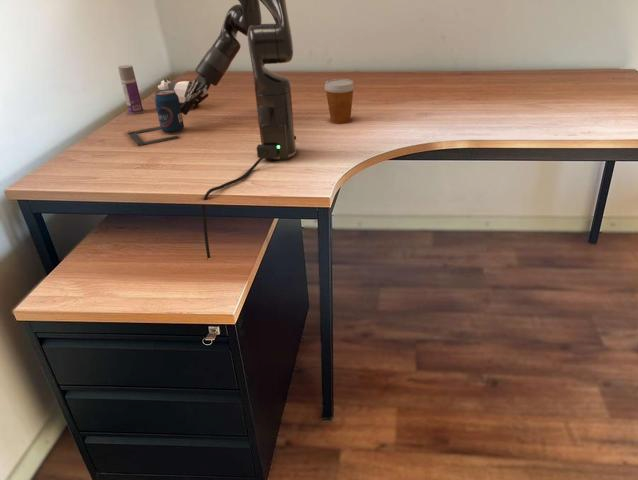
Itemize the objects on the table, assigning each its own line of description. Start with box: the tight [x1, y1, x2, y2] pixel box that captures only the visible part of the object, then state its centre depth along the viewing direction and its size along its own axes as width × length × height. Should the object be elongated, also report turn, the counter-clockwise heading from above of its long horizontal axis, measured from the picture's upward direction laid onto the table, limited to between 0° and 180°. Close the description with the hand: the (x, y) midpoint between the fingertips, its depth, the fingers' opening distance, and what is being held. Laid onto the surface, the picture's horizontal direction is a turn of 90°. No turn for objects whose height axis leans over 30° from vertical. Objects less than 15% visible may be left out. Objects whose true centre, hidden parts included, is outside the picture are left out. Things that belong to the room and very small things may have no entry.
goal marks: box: [127, 126, 180, 147], centre depth 166 cm, size 12×14×1 cm
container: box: [117, 64, 144, 115], centre depth 183 cm, size 5×5×15 cm
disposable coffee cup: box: [323, 78, 355, 124], centre depth 173 cm, size 10×10×12 cm
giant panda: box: [157, 77, 199, 111], centre depth 189 cm, size 15×6×10 cm, turn 72°
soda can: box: [154, 89, 185, 135], centre depth 166 cm, size 7×7×12 cm
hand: (182, 112), depth 168 cm, fingers closed
